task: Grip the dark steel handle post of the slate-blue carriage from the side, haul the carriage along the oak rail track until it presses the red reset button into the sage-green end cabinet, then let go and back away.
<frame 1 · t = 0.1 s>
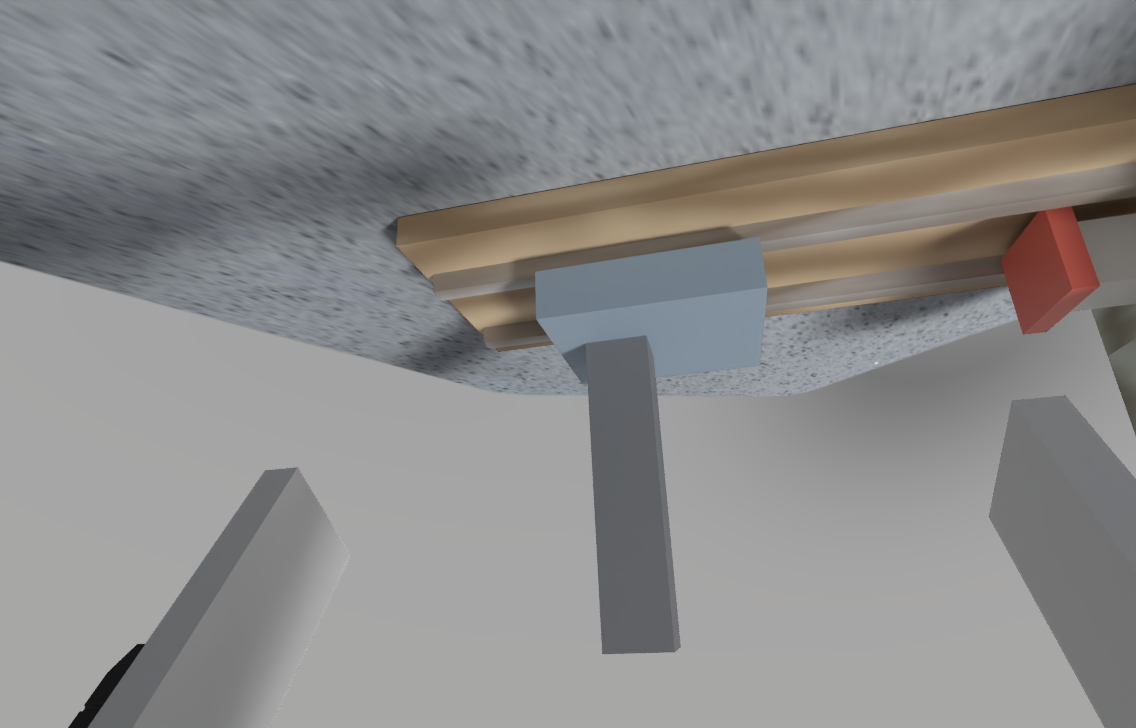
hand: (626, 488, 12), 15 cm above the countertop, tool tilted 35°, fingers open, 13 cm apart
reset button: (1121, 261, 29), point 4 cm above the countertop, slide at 0.0 cm
carriage: (671, 459, 31), point 11 cm above the countertop, slide at 0.0 cm
rail track: (809, 229, 33), on the countertop
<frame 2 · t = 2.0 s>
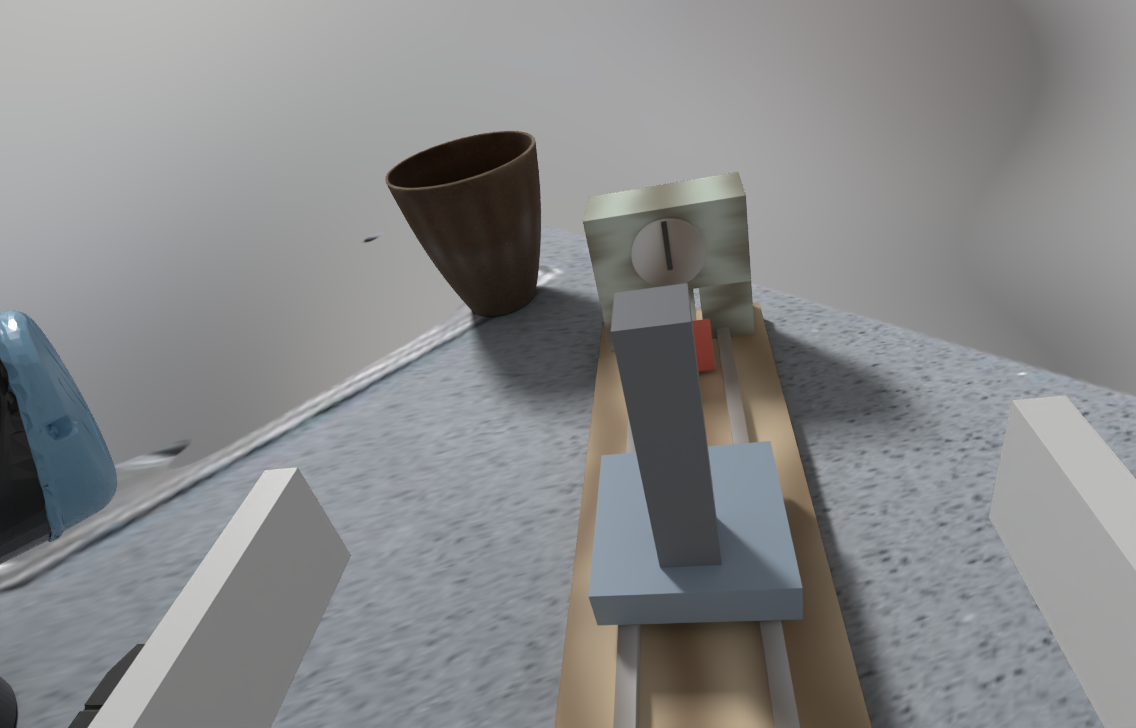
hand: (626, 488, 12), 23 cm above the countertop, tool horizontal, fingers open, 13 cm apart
reset button: (677, 327, 52), point 4 cm above the countertop, slide at 0.0 cm
carriage: (674, 430, 32), point 11 cm above the countertop, slide at 0.0 cm
rail track: (690, 474, 44), on the countertop
plant pot: (504, 301, 72), on the countertop
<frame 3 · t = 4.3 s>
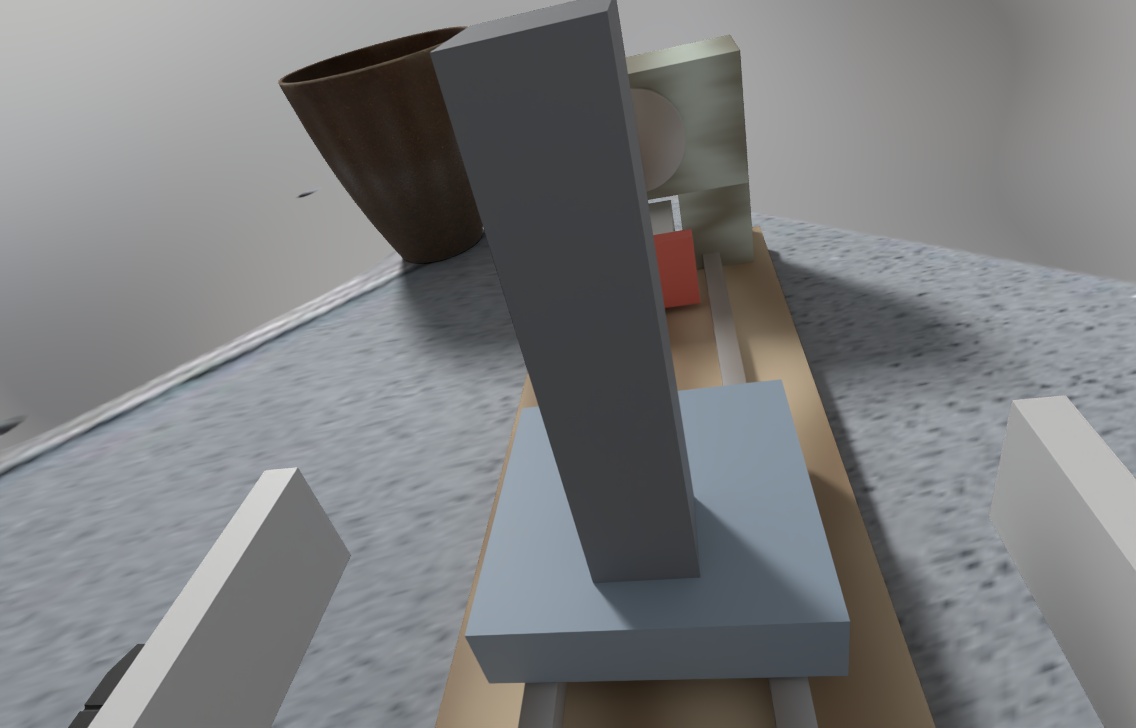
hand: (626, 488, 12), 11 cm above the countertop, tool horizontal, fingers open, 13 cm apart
reset button: (650, 250, 38), point 4 cm above the countertop, slide at 0.0 cm
carriage: (614, 338, 18), point 11 cm above the countertop, slide at 0.0 cm
rail track: (663, 443, 30), on the countertop
plant pot: (443, 247, 58), on the countertop
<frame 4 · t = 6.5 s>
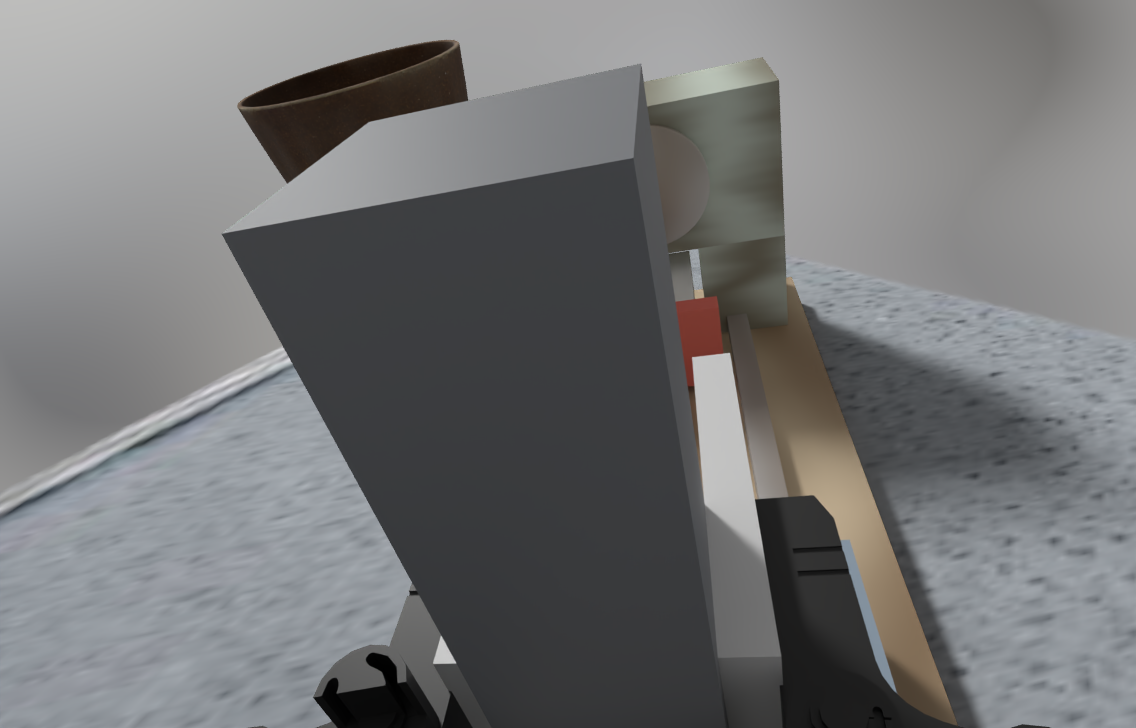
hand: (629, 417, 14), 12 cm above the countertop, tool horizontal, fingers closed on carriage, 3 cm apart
reset button: (664, 313, 32), point 4 cm above the countertop, slide at 0.0 cm
carriage: (628, 561, 12), point 11 cm above the countertop, slide at 0.0 cm, touching gripper
rail track: (683, 576, 24), on the countertop
plant pot: (430, 285, 52), on the countertop
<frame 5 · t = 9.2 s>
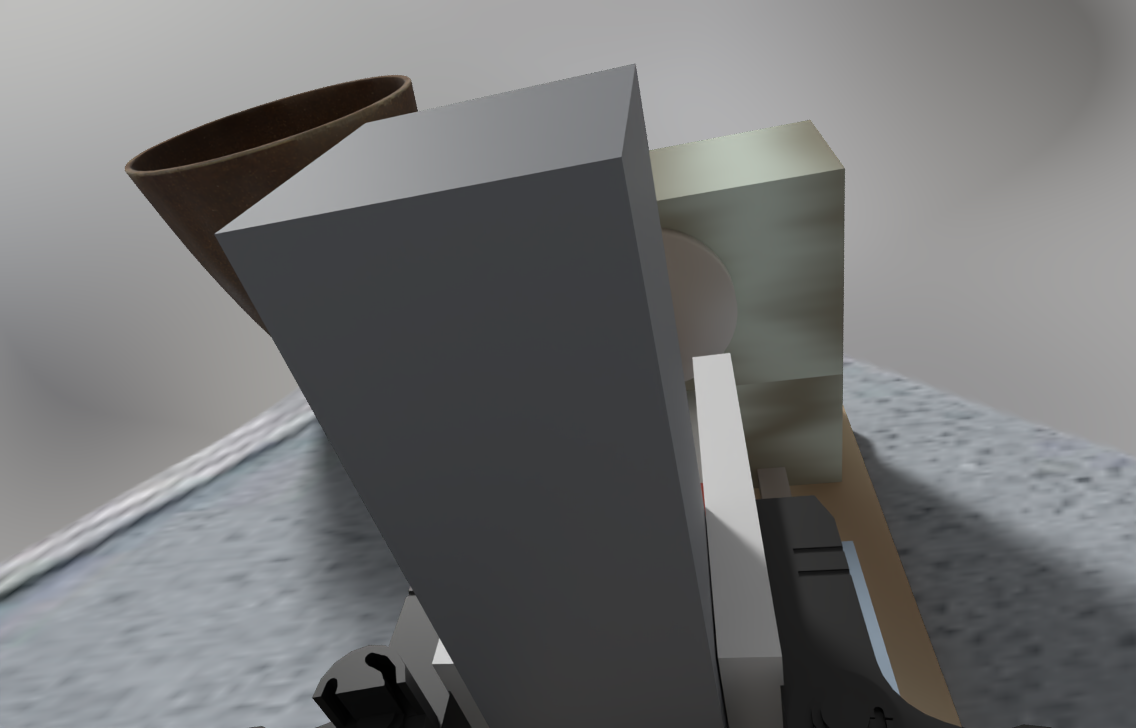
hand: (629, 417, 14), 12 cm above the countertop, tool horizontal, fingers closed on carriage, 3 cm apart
reset button: (672, 475, 23), point 4 cm above the countertop, slide at 0.0 cm
carriage: (628, 562, 12), point 11 cm above the countertop, slide at 11.2 cm, touching gripper
plant pot: (387, 366, 43), on the countertop
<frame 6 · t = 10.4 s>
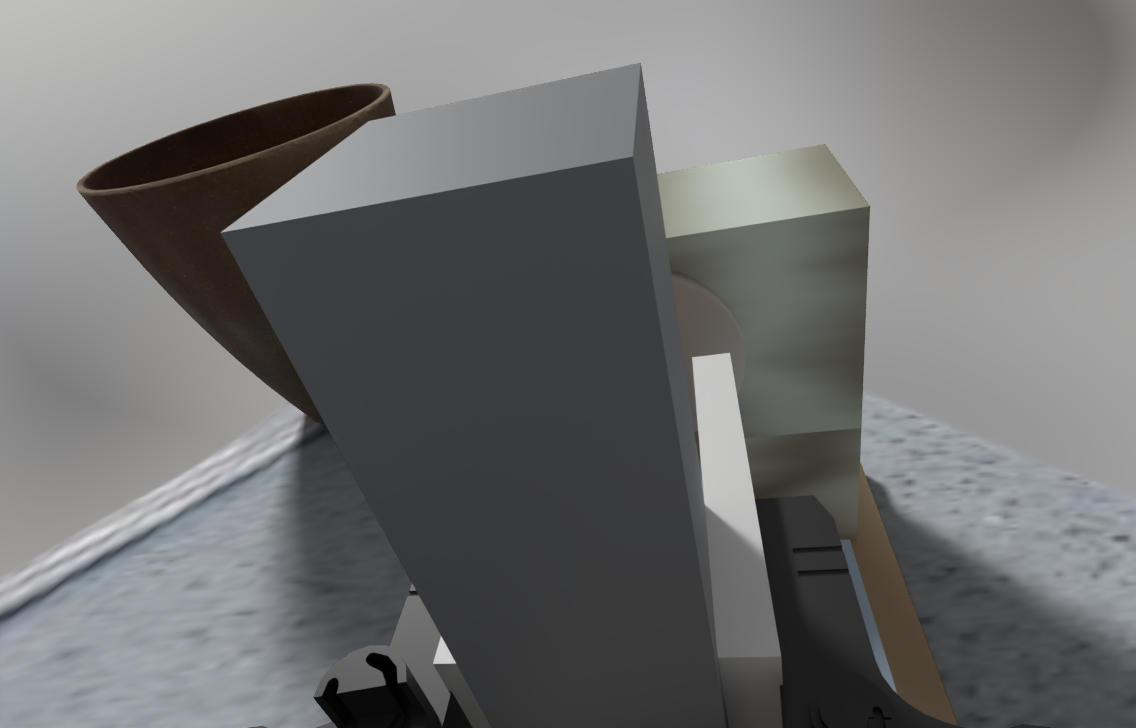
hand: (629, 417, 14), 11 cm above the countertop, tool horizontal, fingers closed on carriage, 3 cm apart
reset button: (669, 490, 22), point 4 cm above the countertop, slide at 2.0 cm, touching carriage
carriage: (628, 561, 12), point 11 cm above the countertop, slide at 14.0 cm, touching gripper, reset button
plant pot: (367, 391, 40), on the countertop
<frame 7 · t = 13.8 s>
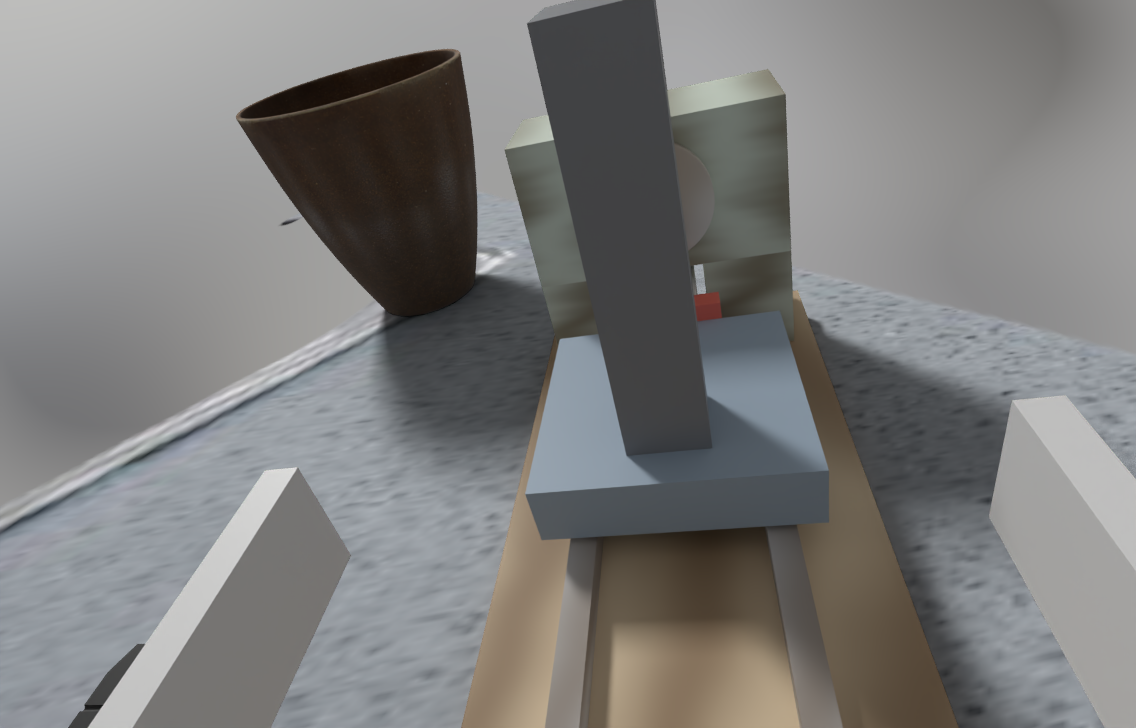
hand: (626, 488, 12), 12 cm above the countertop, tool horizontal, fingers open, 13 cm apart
reset button: (668, 309, 33), point 4 cm above the countertop, slide at 2.0 cm, touching carriage
carriage: (644, 258, 22), point 11 cm above the countertop, slide at 14.0 cm, touching reset button
rail track: (689, 605, 24), on the countertop
plant pot: (431, 295, 51), on the countertop
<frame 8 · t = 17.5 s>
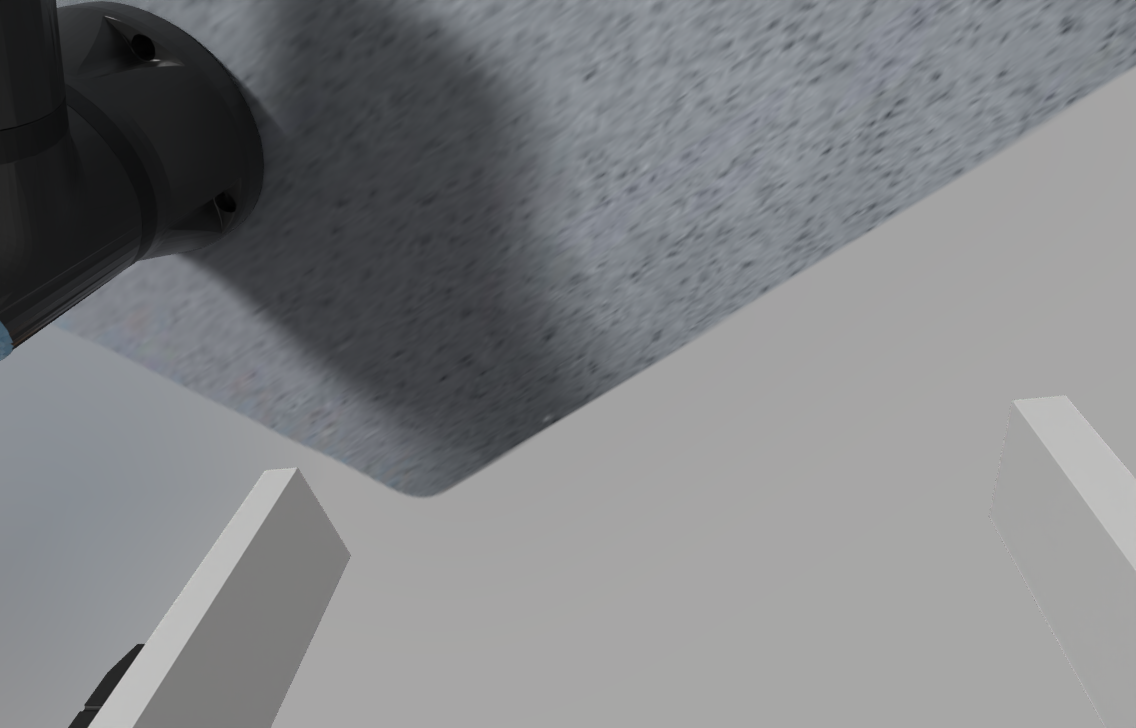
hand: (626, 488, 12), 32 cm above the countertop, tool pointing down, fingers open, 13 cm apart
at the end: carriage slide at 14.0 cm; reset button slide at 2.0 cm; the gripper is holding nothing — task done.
